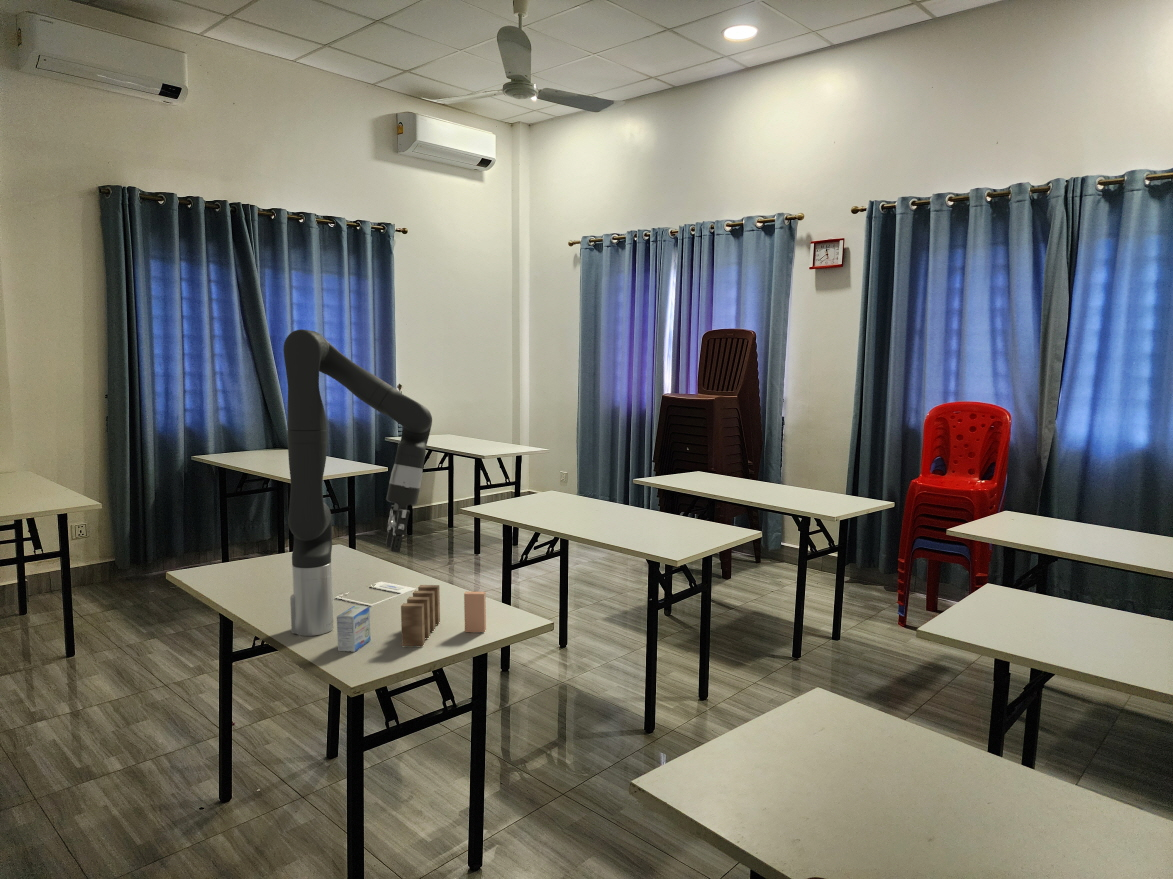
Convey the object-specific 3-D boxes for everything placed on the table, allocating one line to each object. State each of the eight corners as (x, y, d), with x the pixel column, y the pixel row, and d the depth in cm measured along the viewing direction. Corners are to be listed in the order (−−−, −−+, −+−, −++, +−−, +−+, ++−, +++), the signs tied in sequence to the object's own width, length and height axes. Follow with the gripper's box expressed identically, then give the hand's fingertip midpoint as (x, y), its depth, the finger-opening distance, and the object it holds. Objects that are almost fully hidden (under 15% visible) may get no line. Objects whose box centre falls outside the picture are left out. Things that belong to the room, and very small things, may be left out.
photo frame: (416, 587, 223) (371, 604, 207) (416, 591, 223) (371, 608, 207) (381, 580, 230) (334, 596, 214) (381, 584, 230) (334, 600, 214)
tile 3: (413, 631, 188) (412, 593, 187) (415, 629, 190) (414, 590, 189) (433, 632, 188) (432, 593, 187) (435, 629, 190) (434, 590, 189)
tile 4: (408, 639, 183) (406, 599, 182) (410, 636, 185) (409, 596, 184) (428, 639, 183) (427, 599, 182) (430, 636, 185) (429, 597, 184)
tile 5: (402, 646, 178) (400, 605, 177) (404, 643, 180) (403, 603, 179) (422, 647, 178) (421, 606, 177) (424, 643, 180) (423, 603, 179)
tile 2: (419, 624, 193) (418, 587, 192) (421, 622, 195) (420, 584, 194) (438, 625, 193) (437, 587, 192) (440, 622, 194) (439, 585, 194)
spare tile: (464, 632, 187) (464, 593, 186) (466, 629, 189) (465, 591, 188) (484, 632, 187) (483, 594, 186) (486, 630, 189) (485, 591, 188)
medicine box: (354, 652, 174) (353, 616, 173) (337, 651, 175) (336, 615, 174) (371, 640, 182) (370, 606, 181) (354, 639, 183) (353, 605, 182)
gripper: (385, 480, 190) (373, 543, 189) (393, 483, 177) (380, 551, 176) (415, 485, 193) (403, 547, 191) (425, 488, 180) (412, 555, 178)
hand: (392, 549), depth 184 cm, fingers open, 8 cm apart
